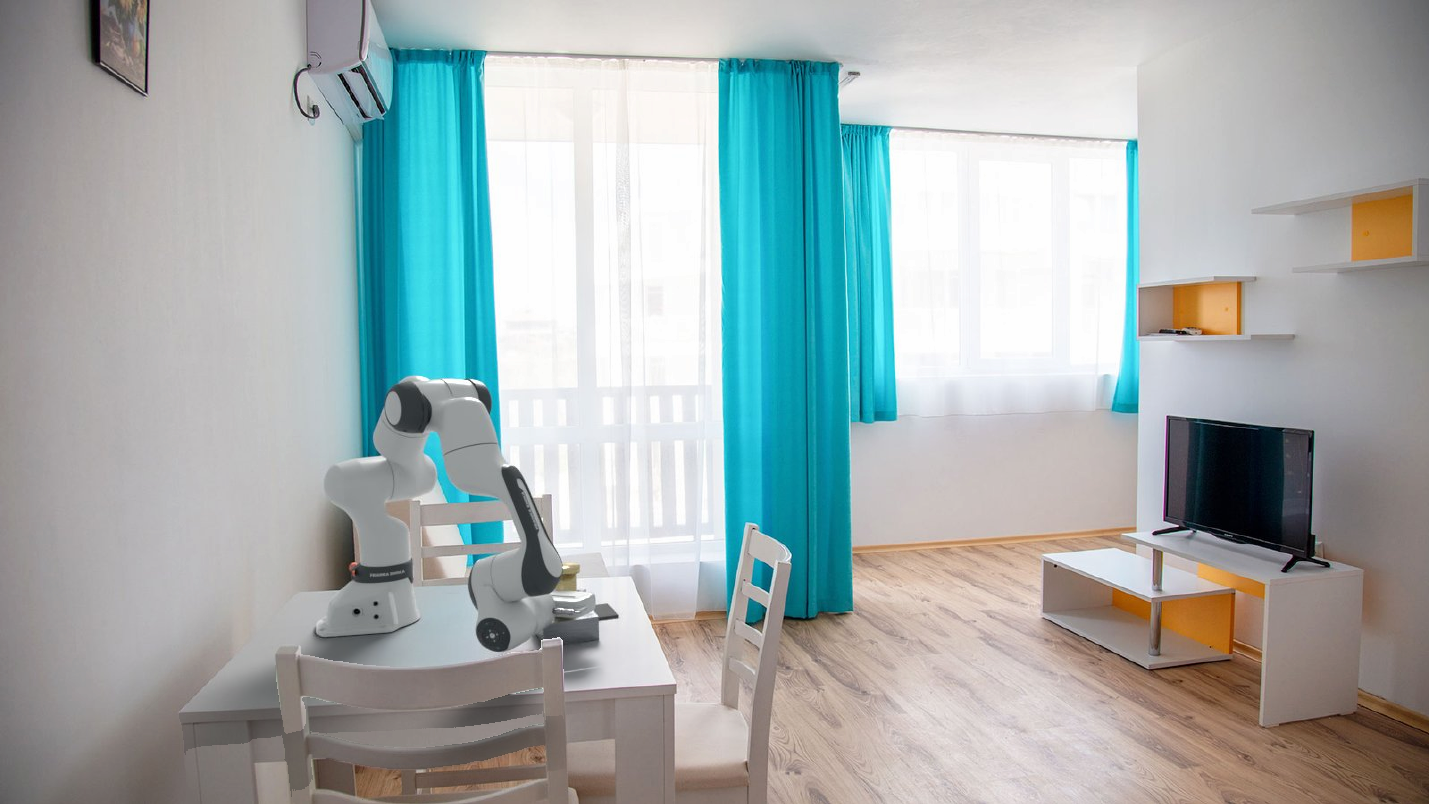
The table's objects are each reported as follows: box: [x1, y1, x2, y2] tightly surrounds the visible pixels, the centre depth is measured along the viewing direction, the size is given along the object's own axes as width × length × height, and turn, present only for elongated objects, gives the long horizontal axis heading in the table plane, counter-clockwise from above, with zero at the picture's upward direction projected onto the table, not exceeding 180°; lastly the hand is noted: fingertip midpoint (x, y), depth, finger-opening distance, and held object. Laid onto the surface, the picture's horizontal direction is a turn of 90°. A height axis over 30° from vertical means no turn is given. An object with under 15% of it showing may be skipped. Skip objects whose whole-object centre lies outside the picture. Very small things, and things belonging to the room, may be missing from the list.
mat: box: [593, 602, 620, 621], centre depth 200 cm, size 10×10×1 cm
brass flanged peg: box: [554, 562, 581, 618], centre depth 185 cm, size 7×7×13 cm
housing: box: [535, 611, 600, 645], centre depth 186 cm, size 12×12×5 cm
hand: (563, 591), depth 185 cm, fingers open, 8 cm apart
